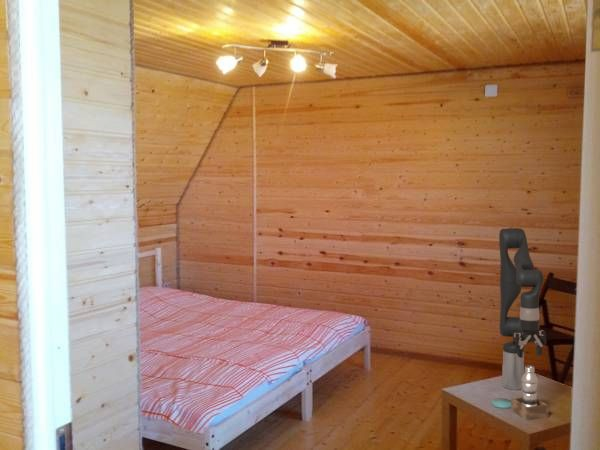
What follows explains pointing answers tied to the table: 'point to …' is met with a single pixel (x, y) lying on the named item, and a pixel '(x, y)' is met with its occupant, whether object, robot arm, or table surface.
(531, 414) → the walnut holder
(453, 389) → the table surface
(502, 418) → the table surface
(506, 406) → the teal coaster
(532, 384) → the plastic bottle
